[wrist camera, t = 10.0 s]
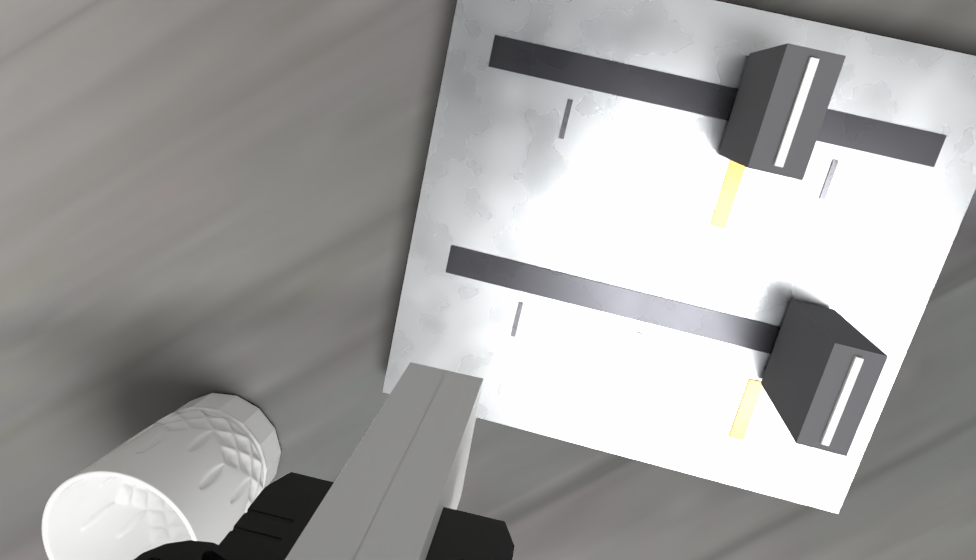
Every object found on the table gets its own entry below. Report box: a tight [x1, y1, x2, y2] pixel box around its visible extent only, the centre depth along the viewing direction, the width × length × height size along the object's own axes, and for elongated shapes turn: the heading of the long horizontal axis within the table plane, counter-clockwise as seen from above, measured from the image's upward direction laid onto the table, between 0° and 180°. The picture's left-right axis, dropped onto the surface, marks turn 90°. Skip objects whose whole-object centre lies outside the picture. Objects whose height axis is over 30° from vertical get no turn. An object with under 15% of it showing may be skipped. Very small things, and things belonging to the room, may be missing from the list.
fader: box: [718, 43, 846, 181], centre depth 27 cm, size 4×2×6 cm, turn 167°
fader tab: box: [761, 299, 888, 457], centre depth 30 cm, size 4×2×6 cm, turn 167°
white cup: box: [42, 393, 281, 560], centre depth 37 cm, size 8×8×10 cm
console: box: [383, 0, 976, 514], centre depth 34 cm, size 22×24×2 cm
